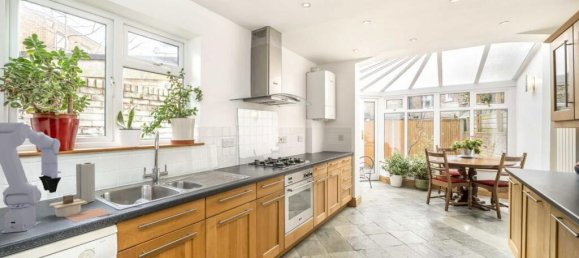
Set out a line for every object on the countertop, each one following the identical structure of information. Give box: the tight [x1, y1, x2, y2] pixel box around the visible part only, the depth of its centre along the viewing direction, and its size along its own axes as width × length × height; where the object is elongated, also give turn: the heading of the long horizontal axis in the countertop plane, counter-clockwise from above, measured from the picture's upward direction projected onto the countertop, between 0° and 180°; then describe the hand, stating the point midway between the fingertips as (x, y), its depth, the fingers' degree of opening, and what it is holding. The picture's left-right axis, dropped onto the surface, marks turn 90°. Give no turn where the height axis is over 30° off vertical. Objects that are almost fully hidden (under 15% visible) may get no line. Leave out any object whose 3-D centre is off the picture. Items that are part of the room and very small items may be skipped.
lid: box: [48, 194, 88, 210], centre depth 122 cm, size 11×11×4 cm
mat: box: [63, 207, 111, 223], centre depth 120 cm, size 14×14×1 cm
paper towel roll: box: [75, 162, 96, 204], centre depth 142 cm, size 7×6×21 cm
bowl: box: [54, 205, 82, 218], centre depth 122 cm, size 9×9×4 cm
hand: (50, 191), depth 124 cm, fingers open, 7 cm apart
